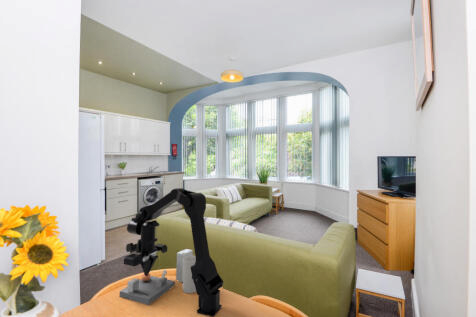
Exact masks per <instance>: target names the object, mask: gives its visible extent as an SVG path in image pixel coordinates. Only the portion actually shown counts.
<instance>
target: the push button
mask: <svg viewBox="0 0 476 317" xmlns="http://www.w3.org/2000/svg"><path fill="white" fill-rule="evenodd" d="M150 276H151V273H149V274H148V275H147V276H145V275H144V273H143V274H142V275H141V279H142V281H148V280H150Z"/></svg>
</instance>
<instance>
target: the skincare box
mask: <svg viewBox="0 0 476 317" xmlns="http://www.w3.org/2000/svg"><path fill="white" fill-rule="evenodd" d="M193 251H194V249H188V248H185V249H182V250H180V251H179V252H177V253H176V267H175V270H176V272H175V281H176V280H178V281H177V282H179V281H180V282H179V283H182V282H183V258H184V257H187V256H194V253H193Z"/></svg>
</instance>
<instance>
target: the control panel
mask: <svg viewBox="0 0 476 317" xmlns="http://www.w3.org/2000/svg"><path fill="white" fill-rule="evenodd" d="M160 279H161V277H158V276H154V275H150V280H148V281H142V278H141V279H139V289H138V290H136V291H135V292H133V293H131V292H128V291H127V288H128V286H126V287H124V288H123V289H120V290H119V298H122V299H126V300H129V301H133V302H136V303H140V304H144V305H147V306H149V305H151V304H152V303H154V302H155V301H156V300H158V299H160V296H161V297H162V296H163V295H165V294H166V293H167V292H169V291H170V290H171V289H170V288H172V287H173V286H174V285H175V286H176V280H171V279H168V277H166V276H165V278H164V283H163V284H161V281H159V280H160ZM175 286H174V287H175ZM174 287H173V288H174ZM173 288H172V289H173ZM169 289H170V290H169ZM168 290H169V291H168ZM165 292H166V293H165ZM164 293H165V294H164Z"/></svg>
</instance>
